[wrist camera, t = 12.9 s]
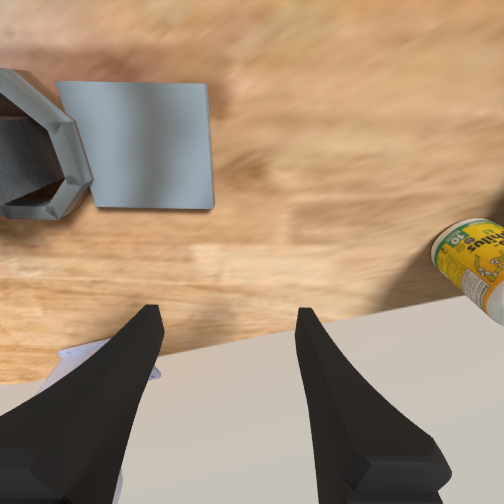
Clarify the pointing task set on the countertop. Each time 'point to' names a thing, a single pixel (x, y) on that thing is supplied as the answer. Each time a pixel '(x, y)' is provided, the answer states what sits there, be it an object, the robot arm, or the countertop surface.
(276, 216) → the countertop surface
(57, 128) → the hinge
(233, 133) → the countertop surface
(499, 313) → the supplement bottle
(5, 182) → the grey metal brick
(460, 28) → the countertop surface
